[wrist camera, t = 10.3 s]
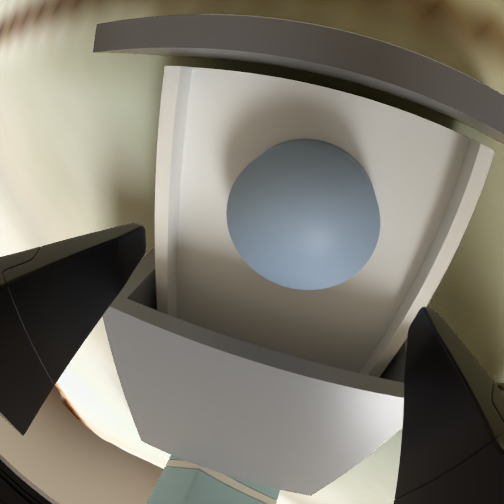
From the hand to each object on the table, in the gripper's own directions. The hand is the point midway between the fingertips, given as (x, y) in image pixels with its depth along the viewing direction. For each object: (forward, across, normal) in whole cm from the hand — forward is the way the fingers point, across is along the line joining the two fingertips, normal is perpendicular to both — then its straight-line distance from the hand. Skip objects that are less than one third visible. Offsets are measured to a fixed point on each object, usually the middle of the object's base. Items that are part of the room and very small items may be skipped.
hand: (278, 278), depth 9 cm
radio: (+8, 0, +42) cm, 43 cm away
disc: (+6, 0, 0) cm, 6 cm away
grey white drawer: (+8, 0, +2) cm, 8 cm away
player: (+8, 0, +16) cm, 18 cm away
